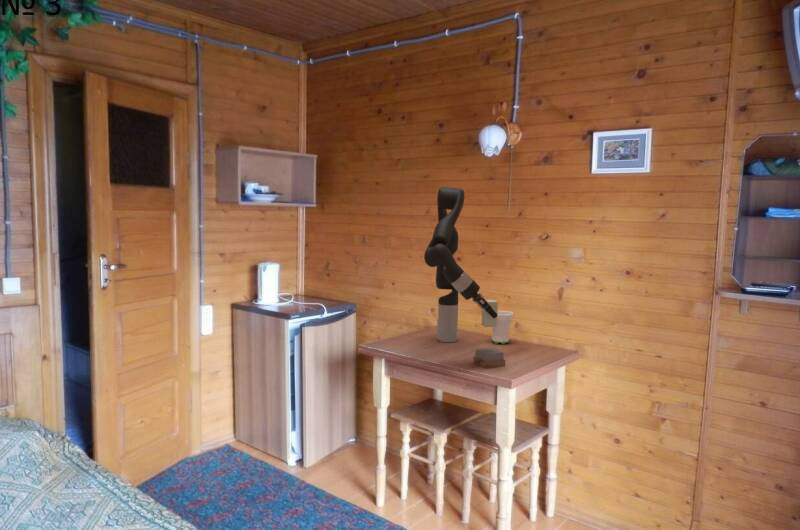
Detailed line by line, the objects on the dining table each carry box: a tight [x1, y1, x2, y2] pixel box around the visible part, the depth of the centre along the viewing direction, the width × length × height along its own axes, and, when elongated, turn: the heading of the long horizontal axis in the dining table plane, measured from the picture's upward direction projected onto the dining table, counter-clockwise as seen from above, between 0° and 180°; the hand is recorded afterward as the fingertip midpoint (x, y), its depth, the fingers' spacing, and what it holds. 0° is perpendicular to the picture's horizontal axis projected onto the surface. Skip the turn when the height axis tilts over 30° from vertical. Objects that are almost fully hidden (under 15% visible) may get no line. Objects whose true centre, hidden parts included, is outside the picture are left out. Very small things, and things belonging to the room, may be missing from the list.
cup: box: [491, 309, 514, 345], centre depth 267 cm, size 11×11×14 cm
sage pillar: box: [481, 299, 499, 328], centre depth 229 cm, size 5×5×10 cm
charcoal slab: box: [474, 347, 505, 362], centre depth 231 cm, size 8×8×3 cm
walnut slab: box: [472, 356, 506, 370], centre depth 231 cm, size 9×9×3 cm
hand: (494, 315), depth 229 cm, fingers closed on sage pillar, 5 cm apart
